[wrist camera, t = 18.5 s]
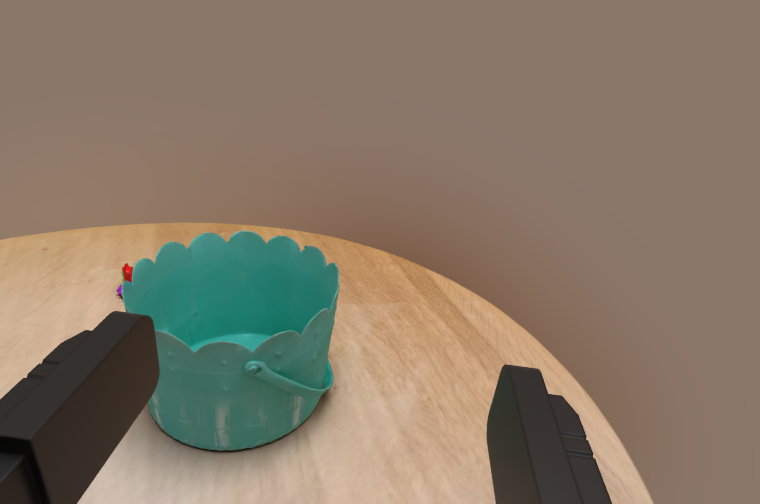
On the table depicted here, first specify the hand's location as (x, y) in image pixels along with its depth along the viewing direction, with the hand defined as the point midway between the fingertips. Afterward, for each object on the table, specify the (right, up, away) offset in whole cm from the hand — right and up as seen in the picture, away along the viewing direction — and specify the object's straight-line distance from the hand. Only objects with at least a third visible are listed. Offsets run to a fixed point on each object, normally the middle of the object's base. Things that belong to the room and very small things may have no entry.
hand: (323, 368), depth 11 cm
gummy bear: (-30, -2, +50) cm, 59 cm away
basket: (-13, -11, +38) cm, 41 cm away
